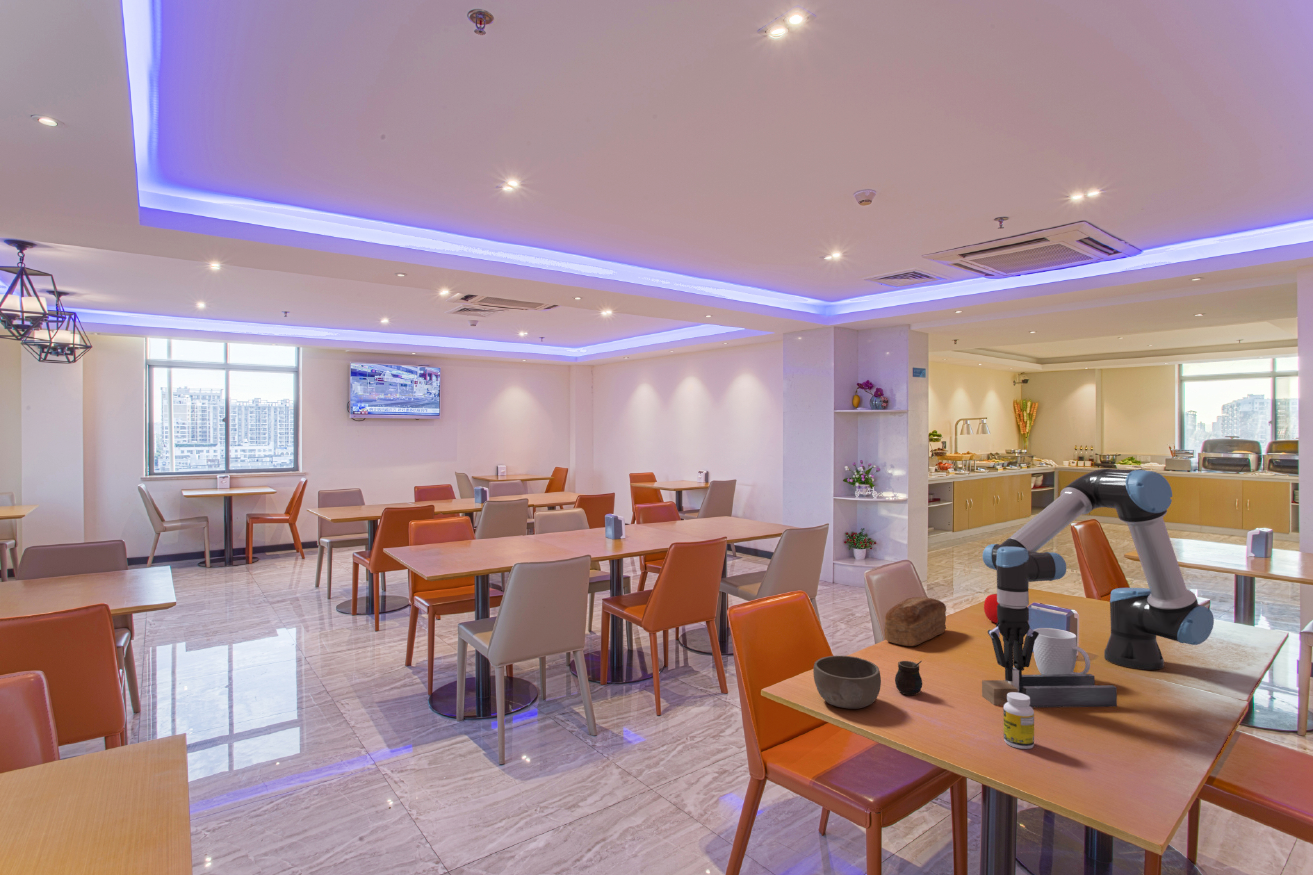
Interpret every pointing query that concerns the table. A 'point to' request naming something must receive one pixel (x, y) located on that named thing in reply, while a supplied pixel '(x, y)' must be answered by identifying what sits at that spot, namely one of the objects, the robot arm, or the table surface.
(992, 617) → the tomato
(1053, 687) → the chute
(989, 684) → the block
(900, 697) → the table surface
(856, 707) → the bowl
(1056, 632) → the mug
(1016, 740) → the pill bottle
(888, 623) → the bread
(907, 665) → the mate gourd
